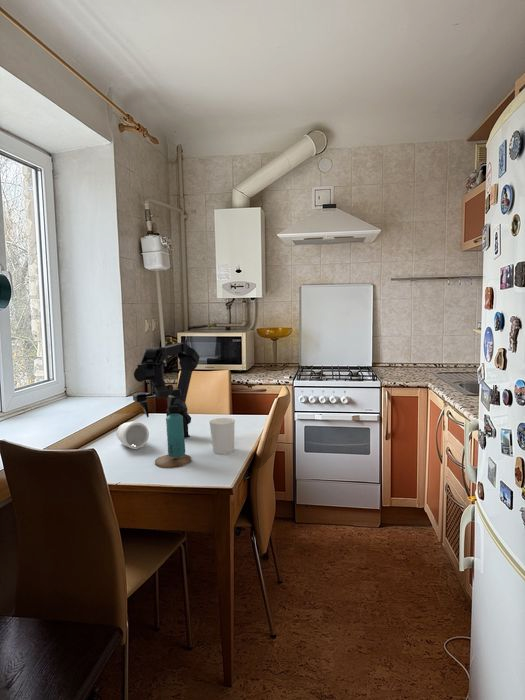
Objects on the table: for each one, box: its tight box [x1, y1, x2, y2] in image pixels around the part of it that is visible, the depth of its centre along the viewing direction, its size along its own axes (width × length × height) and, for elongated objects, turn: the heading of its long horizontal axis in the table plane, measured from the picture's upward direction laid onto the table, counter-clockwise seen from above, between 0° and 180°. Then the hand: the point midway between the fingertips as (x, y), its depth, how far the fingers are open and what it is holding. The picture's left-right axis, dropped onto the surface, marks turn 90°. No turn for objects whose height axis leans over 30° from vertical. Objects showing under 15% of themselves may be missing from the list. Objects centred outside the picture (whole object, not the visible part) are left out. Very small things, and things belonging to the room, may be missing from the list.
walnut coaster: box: [154, 453, 192, 469], centre depth 173 cm, size 13×13×1 cm
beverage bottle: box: [165, 405, 186, 457], centre depth 173 cm, size 6×7×20 cm
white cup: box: [209, 417, 236, 455], centre depth 184 cm, size 10×10×12 cm
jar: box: [116, 421, 150, 450], centre depth 195 cm, size 11×10×15 cm
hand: (158, 415), depth 192 cm, fingers open, 9 cm apart
